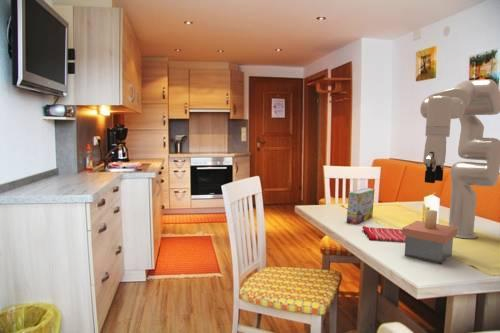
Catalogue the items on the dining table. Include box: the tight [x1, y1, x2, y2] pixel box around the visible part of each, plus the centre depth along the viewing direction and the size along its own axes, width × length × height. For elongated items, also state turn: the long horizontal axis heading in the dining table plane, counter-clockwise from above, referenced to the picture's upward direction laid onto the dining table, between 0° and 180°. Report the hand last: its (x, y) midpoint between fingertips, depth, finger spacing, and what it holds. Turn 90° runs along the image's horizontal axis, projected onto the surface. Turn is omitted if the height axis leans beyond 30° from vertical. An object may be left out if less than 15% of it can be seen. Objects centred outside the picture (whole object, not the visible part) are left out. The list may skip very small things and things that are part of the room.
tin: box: [403, 236, 454, 265], centre depth 136 cm, size 14×12×9 cm
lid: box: [401, 209, 458, 244], centre depth 135 cm, size 16×14×9 cm
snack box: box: [346, 187, 376, 226], centre depth 188 cm, size 21×6×15 cm, turn 143°
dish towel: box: [362, 225, 406, 244], centre depth 160 cm, size 17×24×3 cm
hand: (433, 181), depth 134 cm, fingers open, 9 cm apart
